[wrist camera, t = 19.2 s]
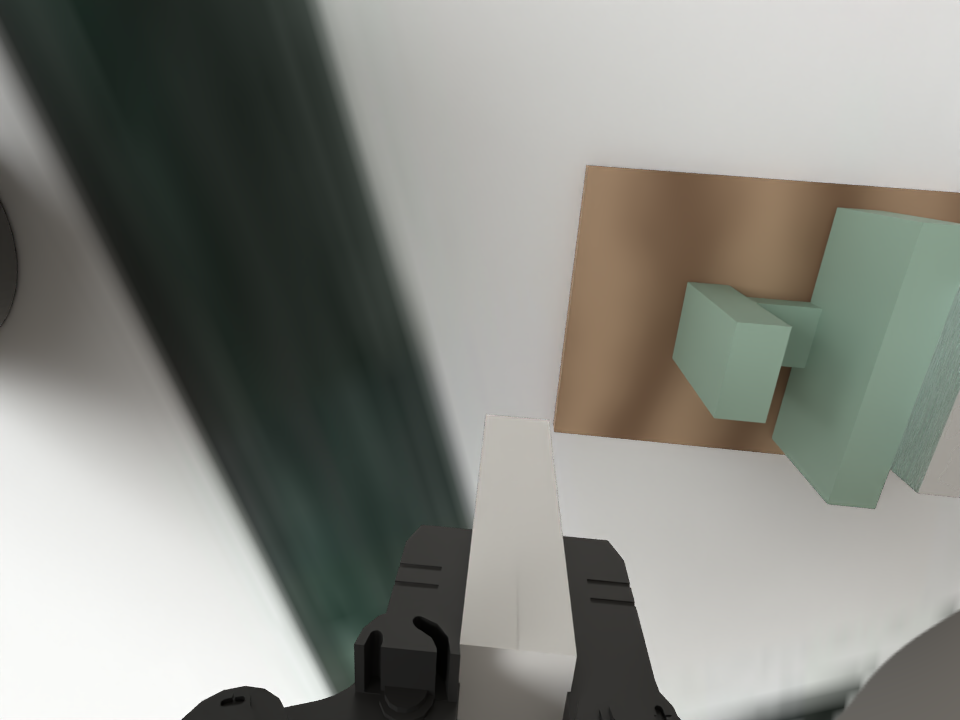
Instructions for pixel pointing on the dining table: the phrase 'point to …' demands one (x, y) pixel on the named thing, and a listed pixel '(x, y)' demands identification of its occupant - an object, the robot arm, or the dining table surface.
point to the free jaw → (831, 348)
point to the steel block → (935, 420)
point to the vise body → (663, 280)
